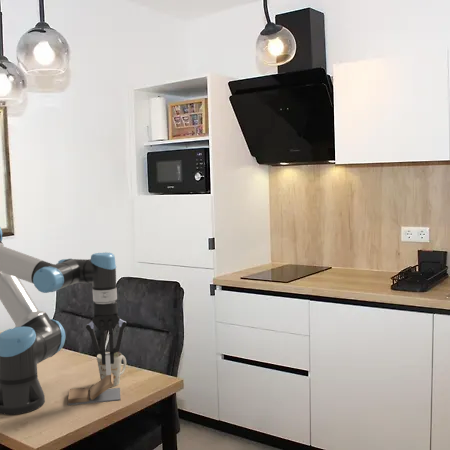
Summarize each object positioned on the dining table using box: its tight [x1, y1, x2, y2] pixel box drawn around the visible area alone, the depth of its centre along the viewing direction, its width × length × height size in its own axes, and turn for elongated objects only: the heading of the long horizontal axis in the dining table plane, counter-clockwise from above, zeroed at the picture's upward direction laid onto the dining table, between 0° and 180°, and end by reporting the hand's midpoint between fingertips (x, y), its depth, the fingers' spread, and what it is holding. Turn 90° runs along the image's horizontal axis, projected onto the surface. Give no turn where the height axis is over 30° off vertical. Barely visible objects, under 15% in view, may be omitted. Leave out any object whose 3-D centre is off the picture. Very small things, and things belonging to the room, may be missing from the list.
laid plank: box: [67, 387, 91, 404], centre depth 185 cm, size 6×9×1 cm
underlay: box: [67, 387, 121, 406], centre depth 186 cm, size 16×10×1 cm, turn 101°
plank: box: [89, 373, 114, 400], centre depth 186 cm, size 8×9×1 cm
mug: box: [96, 351, 127, 388], centre depth 199 cm, size 8×13×10 cm, turn 152°
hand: (108, 373), depth 186 cm, fingers closed
